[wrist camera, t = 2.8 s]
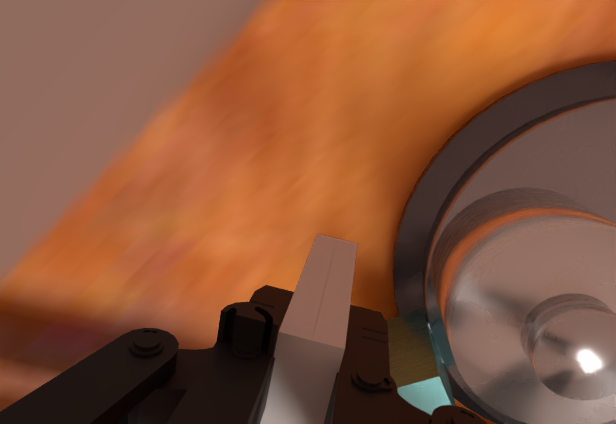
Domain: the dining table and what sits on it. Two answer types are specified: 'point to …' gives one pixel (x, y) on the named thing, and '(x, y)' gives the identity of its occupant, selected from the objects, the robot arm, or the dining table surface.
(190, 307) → the dining table surface
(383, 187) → the dining table surface
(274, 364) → the robot arm
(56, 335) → the dining table surface
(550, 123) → the turntable
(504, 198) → the cover
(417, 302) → the base plate
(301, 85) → the dining table surface
